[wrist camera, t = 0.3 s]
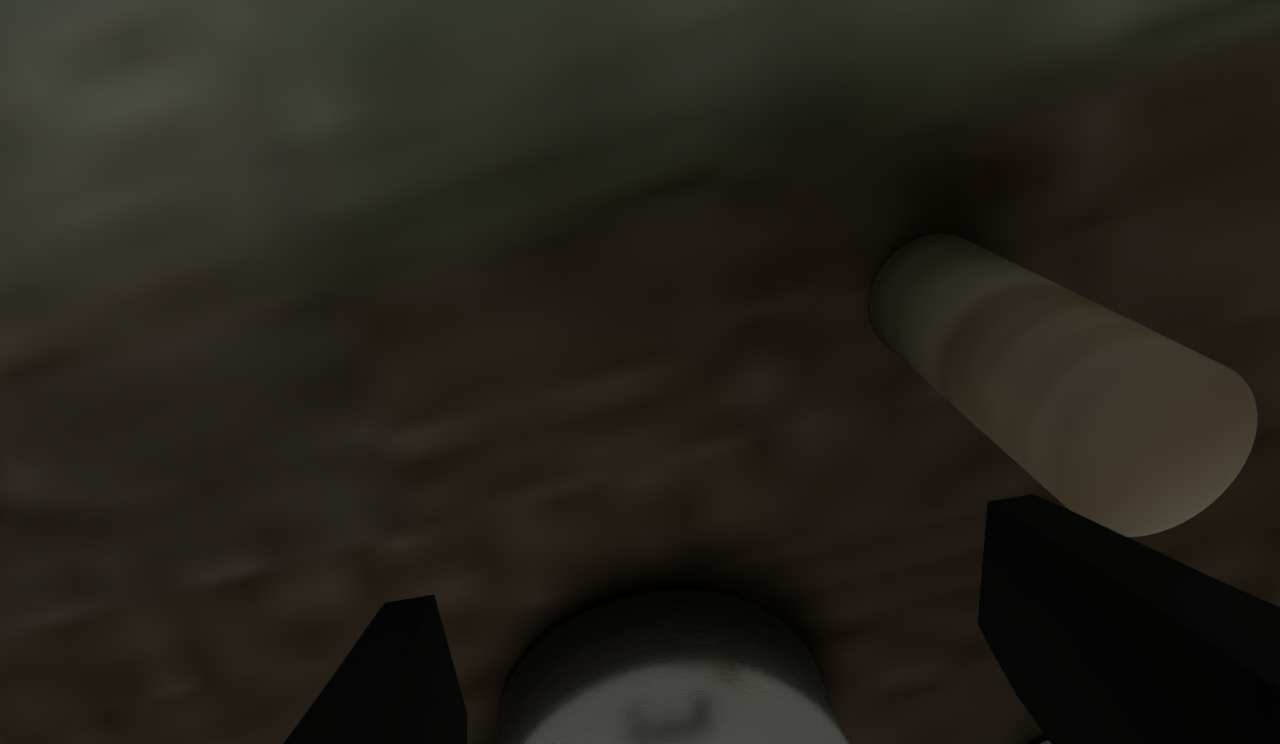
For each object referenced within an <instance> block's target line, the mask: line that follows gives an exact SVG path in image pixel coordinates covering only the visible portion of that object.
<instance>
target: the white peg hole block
mask: <svg viewBox="0 0 1280 744" xmlns="http://www.w3.org/2000/svg"><path fill="white" fill-rule="evenodd" d="M495 744H850V743H849V740H848V738H847V736H846V734H845V731H844V729H843V727H842V724H841V722H840V720H839V718H838V715H837V713H836V711H835V709H834V706H833V704H832V702H831V699H830V697H829V695H828V693H827V690H826V688H825V686H824V684H823V681H822V679H821V677H820V674H819V672H818V670H817V668H816V665H815V663H814V661H813V659H812V657H811V655H810V653H809V651H808V649H807V647H806V646H805V645H804V643H803V642H802V641H801V639H800V638H799V636H798V635H797V634H796V633H795V632H794V631H793V630H792V629H791V628H790V627H789V626H788V625H787V624H786V623H784V622H783V621H781V620H780V619H779V618H777V617H776V616H774V615H773V614H772V613H770V612H768V611H766V610H764V609H762V608H761V607H759V606H757V605H755V604H753V603H750V602H747V601H744V600H741V599H739V598H736V597H733V596H728V595H724V594H719V593H715V592H707V591H697V590H664V591H655V592H646V593H641V594H636V595H632V596H627V597H623V598H620V599H617V600H614V601H611V602H607V603H604V604H601V605H599V606H597V607H595V608H592V609H590V610H588V611H586V612H584V613H581V614H579V615H577V616H576V617H574V618H572V619H571V620H569V621H567V622H566V623H564V624H562V625H561V626H559V627H558V628H557V629H555V630H554V631H553V632H551V633H550V634H549V635H547V636H546V637H545V638H543V639H542V640H541V641H540V642H539V643H538V644H537V645H536V646H535V647H534V648H533V649H532V650H531V651H530V652H529V653H528V654H527V655H526V657H525V658H524V659H523V660H522V662H521V663H520V664H519V665H518V667H517V668H516V669H515V671H514V673H513V675H512V676H511V678H510V680H509V681H508V683H507V685H506V687H505V690H504V693H503V695H502V698H501V700H500V704H499V709H498V714H497V719H496V736H495Z"/></svg>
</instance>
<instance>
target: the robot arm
mask: <svg viewBox="0 0 1280 744" xmlns="http://www.w3.org/2000/svg"><path fill="white" fill-rule="evenodd" d="M978 625H979V627H980V629H981V631H982V633H983V635H984V637H985V639H986V640H987V642H988V644H989V646H990V648H991V650H992V652H993V654H994V656H995V657H996V659H997V661H998V663H999V665H1000V666H1001V668H1002V670H1003V672H1004V673H1005V675H1006V677H1007V679H1008V680H1009V682H1010V684H1011V686H1012V687H1013V689H1014V691H1015V693H1016V694H1017V696H1018V697H1019V699H1020V700H1021V702H1022V703H1023V704H1024V706H1025V707H1026V709H1027V710H1028V712H1029V713H1030V714H1031V716H1032V717H1033V719H1034V720H1035V721H1036V723H1037V724H1038V726H1039V727H1040V728H1041V730H1042V731H1043V733H1044V734H1045V735H1046V737H1047V738H1048V739H1049V740H1048V741H1044V742H1042V743H1040V744H1280V607H1278V606H1275V605H1273V604H1271V603H1268V602H1266V601H1264V600H1261V599H1259V598H1257V597H1255V596H1252V595H1250V594H1248V593H1246V592H1243V591H1241V590H1239V589H1237V588H1234V587H1232V586H1230V585H1228V584H1225V583H1223V582H1221V581H1219V580H1217V579H1214V578H1212V577H1210V576H1208V575H1206V574H1204V573H1201V572H1199V571H1197V570H1195V569H1193V568H1191V567H1189V566H1186V565H1184V564H1182V563H1180V562H1178V561H1176V560H1174V559H1172V558H1169V557H1167V556H1165V555H1163V554H1161V553H1159V552H1157V551H1155V550H1153V549H1150V548H1148V547H1146V546H1144V545H1142V544H1140V543H1138V542H1136V541H1134V540H1132V539H1130V538H1128V537H1125V536H1123V535H1121V534H1119V533H1117V532H1115V531H1113V530H1111V529H1109V528H1107V527H1105V526H1102V525H1100V524H1098V523H1096V522H1094V521H1092V520H1090V519H1088V518H1086V517H1083V516H1081V515H1079V514H1077V513H1075V512H1073V511H1071V510H1068V509H1066V508H1064V507H1062V506H1059V505H1057V504H1055V503H1053V502H1050V501H1048V500H1045V499H1043V498H1041V497H1038V496H1036V495H1033V494H1031V495H1025V496H1020V497H1014V498H1008V499H1002V500H996V501H990V502H988V505H987V517H986V530H985V542H984V554H983V567H982V579H981V591H980V603H979V616H978ZM283 744H467V712H466V708H465V704H464V701H463V697H462V694H461V690H460V686H459V683H458V679H457V675H456V672H455V668H454V665H453V661H452V657H451V654H450V650H449V647H448V643H447V639H446V636H445V632H444V628H443V625H442V621H441V618H440V614H439V610H438V607H437V603H436V600H435V596H434V595H429V596H423V597H417V598H411V599H405V600H399V601H393V602H387V603H385V604H384V605H383V606H382V608H381V609H380V610H379V611H378V613H377V614H376V616H375V617H374V618H373V620H372V621H371V622H370V624H369V625H368V627H367V628H366V629H365V631H364V632H363V634H362V635H361V637H360V638H359V640H358V641H357V642H356V644H355V645H354V647H353V648H352V650H351V651H350V652H349V654H348V655H347V657H346V658H345V660H344V661H343V662H342V664H341V665H340V667H339V668H338V669H337V671H336V672H335V674H334V675H333V677H332V678H331V679H330V681H329V682H328V684H327V685H326V686H325V688H324V689H323V691H322V692H321V693H320V695H319V696H318V697H317V699H316V700H315V702H314V703H313V704H312V706H311V707H310V708H309V710H308V711H307V712H306V714H305V715H304V716H303V718H302V719H301V720H300V722H299V723H298V724H297V726H296V727H295V728H294V730H293V731H292V733H291V734H290V735H289V737H288V738H287V739H286V741H285V742H284V743H283Z"/></svg>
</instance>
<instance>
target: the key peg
mask: <svg viewBox="0 0 1280 744" xmlns="http://www.w3.org/2000/svg"><path fill="white" fill-rule="evenodd" d="M868 308H869V317H870V321H871V324H872V327H873V329H874V331H875V333H876V334H877V336H878V337H879V338H880V340H881V341H882V342H883V343H885V344H886V345H887V346H888V347H889V348H890V349H891V350H892V351H893V352H894V353H896V354H897V355H898V356H899V357H900V358H901V359H902V360H903V361H904V362H906V363H907V364H908V365H909V366H910V367H911V368H912V369H913V370H914V371H916V372H917V373H918V374H919V375H920V376H921V377H922V378H923V379H924V380H926V381H927V382H928V383H929V384H930V385H931V386H932V387H933V388H934V389H936V390H937V391H938V392H939V393H940V394H941V395H942V396H943V397H944V398H946V399H947V400H948V401H949V402H950V403H951V404H952V405H953V406H954V407H956V408H957V409H958V410H959V411H960V412H961V413H962V414H963V415H964V416H966V417H967V418H968V419H969V420H970V421H971V422H972V423H973V424H974V425H976V426H977V427H978V428H979V429H980V430H981V431H982V432H983V433H984V434H986V435H987V436H988V437H989V438H990V439H991V440H992V441H993V442H994V443H996V444H997V445H998V446H999V447H1000V448H1001V449H1002V450H1003V451H1004V452H1006V453H1007V454H1008V455H1009V456H1010V457H1011V458H1012V459H1013V460H1014V461H1016V462H1017V463H1018V464H1019V465H1020V466H1021V467H1022V468H1023V469H1024V470H1026V471H1027V472H1028V473H1029V474H1030V475H1031V476H1032V477H1033V478H1034V479H1036V480H1037V481H1038V482H1039V483H1040V484H1041V485H1042V486H1043V487H1044V488H1046V489H1047V490H1048V491H1049V492H1050V493H1051V494H1052V495H1053V496H1054V497H1056V498H1057V499H1058V500H1059V501H1060V502H1061V503H1062V504H1063V505H1064V506H1066V507H1067V508H1068V509H1069V510H1071V511H1073V512H1075V513H1077V514H1079V515H1081V516H1083V517H1086V518H1088V519H1090V520H1092V521H1094V522H1096V523H1098V524H1100V525H1102V526H1105V527H1107V528H1109V529H1111V530H1113V531H1115V532H1117V533H1119V534H1121V535H1123V536H1125V537H1137V536H1145V535H1150V534H1154V533H1158V532H1161V531H1164V530H1167V529H1170V528H1172V527H1174V526H1177V525H1179V524H1181V523H1183V522H1185V521H1187V520H1188V519H1190V518H1192V517H1194V516H1195V515H1197V514H1198V513H1200V512H1201V511H1202V510H1204V509H1205V508H1206V507H1208V506H1209V505H1210V504H1211V503H1213V502H1214V501H1215V500H1216V499H1217V498H1218V497H1219V496H1220V495H1221V494H1222V493H1223V492H1224V491H1225V490H1226V489H1227V488H1228V486H1229V485H1230V484H1231V483H1232V482H1233V480H1234V479H1235V478H1236V476H1237V475H1238V474H1239V472H1240V471H1241V469H1242V467H1243V465H1244V464H1245V462H1246V460H1247V458H1248V456H1249V453H1250V451H1251V449H1252V446H1253V443H1254V440H1255V435H1256V430H1257V417H1258V415H1257V406H1256V402H1255V399H1254V395H1253V393H1252V391H1251V389H1250V387H1249V386H1248V384H1247V383H1246V382H1245V381H1244V379H1243V378H1242V377H1241V376H1240V375H1238V374H1237V373H1236V372H1235V371H1233V370H1231V369H1230V368H1228V367H1226V366H1224V365H1222V364H1220V363H1218V362H1216V361H1214V360H1212V359H1210V358H1208V357H1206V356H1204V355H1202V354H1200V353H1198V352H1196V351H1193V350H1191V349H1189V348H1187V347H1185V346H1183V345H1181V344H1179V343H1177V342H1175V341H1173V340H1171V339H1169V338H1167V337H1165V336H1163V335H1161V334H1159V333H1157V332H1155V331H1152V330H1150V329H1148V328H1146V327H1144V326H1142V325H1140V324H1138V323H1136V322H1134V321H1132V320H1130V319H1128V318H1126V317H1124V316H1122V315H1120V314H1118V313H1116V312H1114V311H1111V310H1109V309H1107V308H1105V307H1103V306H1101V305H1099V304H1097V303H1095V302H1093V301H1091V300H1089V299H1087V298H1085V297H1083V296H1081V295H1079V294H1077V293H1075V292H1072V291H1070V290H1068V289H1066V288H1064V287H1062V286H1060V285H1058V284H1056V283H1054V282H1052V281H1050V280H1048V279H1046V278H1044V277H1042V276H1040V275H1038V274H1036V273H1034V272H1031V271H1029V270H1027V269H1025V268H1023V267H1021V266H1019V265H1017V264H1015V263H1013V262H1011V261H1009V260H1007V259H1005V258H1003V257H1001V256H999V255H997V254H995V253H993V252H990V251H988V250H986V249H984V248H982V247H980V246H978V245H976V244H974V243H972V242H970V241H968V240H966V239H964V238H961V237H958V236H955V235H950V234H932V235H927V236H923V237H920V238H917V239H915V240H913V241H911V242H909V243H907V244H906V245H904V246H902V247H901V248H900V249H898V250H897V251H896V252H894V253H893V254H892V255H891V256H890V257H889V258H888V259H887V261H886V262H885V263H884V264H883V266H882V267H881V269H880V270H879V272H878V273H877V275H876V277H875V279H874V281H873V284H872V287H871V291H870V295H869V304H868Z"/></svg>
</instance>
